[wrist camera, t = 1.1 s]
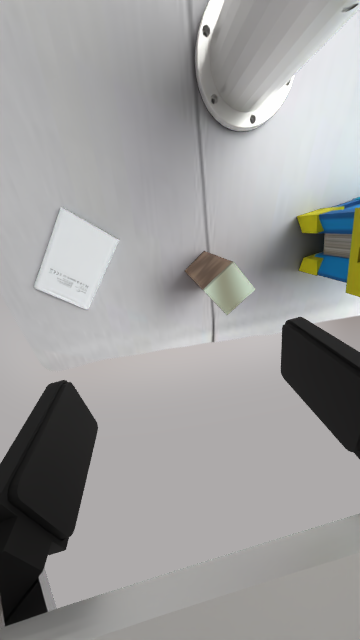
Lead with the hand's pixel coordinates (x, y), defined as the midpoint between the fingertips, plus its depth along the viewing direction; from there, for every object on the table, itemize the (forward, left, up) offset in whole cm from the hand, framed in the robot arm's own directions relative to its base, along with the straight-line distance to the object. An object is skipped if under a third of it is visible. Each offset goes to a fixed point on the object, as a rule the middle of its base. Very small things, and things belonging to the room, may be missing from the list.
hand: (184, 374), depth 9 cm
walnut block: (-5, +6, -27) cm, 28 cm away
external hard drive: (+8, -9, -27) cm, 30 cm away
